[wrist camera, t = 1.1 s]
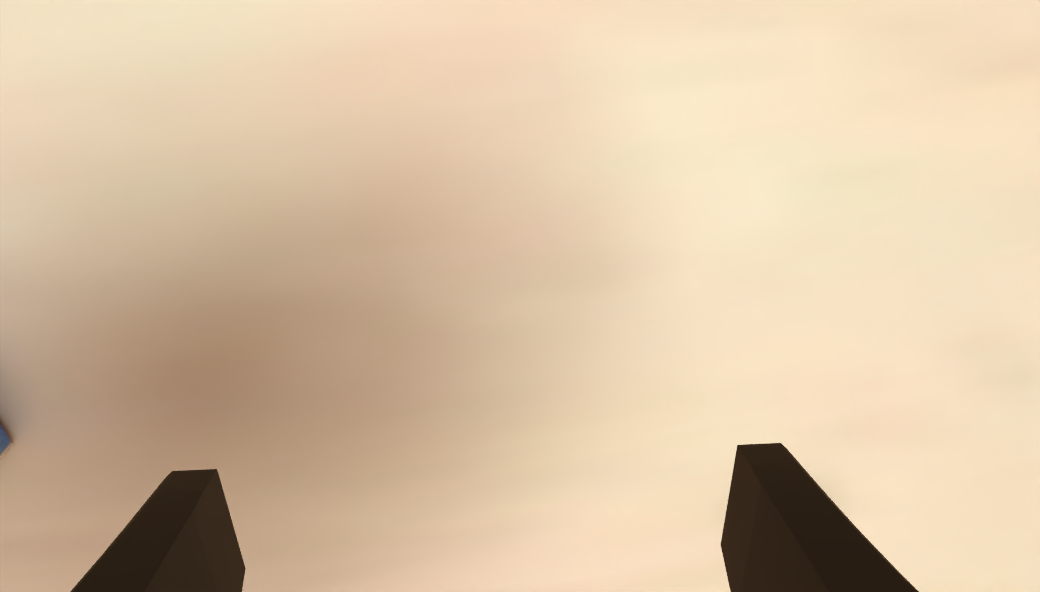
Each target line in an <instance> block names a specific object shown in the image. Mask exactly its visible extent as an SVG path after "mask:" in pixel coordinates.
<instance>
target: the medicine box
mask: <svg viewBox="0 0 1040 592" xmlns="http://www.w3.org/2000/svg"><path fill="white" fill-rule="evenodd" d="M10 446H11V441H10V439H9V437H8V436H7V434H6V433H5V431H4V430H3V428H2V426H1V425H0V459H1V458H2V456H3V455H4V454H5V453H6V452H7V451H8V450H9V448H10Z"/></svg>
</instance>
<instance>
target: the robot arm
mask: <svg viewBox="0 0 1040 592" xmlns="http://www.w3.org/2000/svg"><path fill="white" fill-rule="evenodd" d="M721 548H722V553H723V557H724V562H725V567H726V572H727V576H728V581H729V586H730V590H731V592H918V591H917V590H916V589H915V588H914V587H913V586H912V585H911V584H910V583H909V582H908V581H907V580H906V579H905V578H904V577H903V576H902V575H901V574H900V573H899V572H898V571H897V570H896V569H895V568H894V566H893V565H892V564H891V563H890V562H889V561H888V560H887V559H886V558H885V557H884V556H883V555H882V554H881V553H880V552H879V551H878V550H877V549H876V548H875V547H874V546H873V545H872V544H871V543H870V541H869V540H868V539H867V538H866V537H865V536H864V535H863V534H862V533H861V532H860V531H859V530H858V529H857V528H856V527H855V526H854V524H853V523H852V522H851V521H850V520H849V519H848V518H847V517H846V516H845V515H844V513H843V512H842V511H841V510H840V509H839V508H838V507H837V506H836V505H835V503H834V502H833V501H832V500H831V499H830V498H829V497H828V496H827V494H826V493H825V492H824V491H823V490H822V489H821V488H820V486H819V485H818V484H817V483H816V482H815V481H814V480H813V478H812V477H811V476H810V475H809V474H808V473H807V472H806V470H805V469H804V468H803V467H802V466H801V465H800V463H799V462H798V461H797V460H796V459H795V458H794V457H793V455H792V454H791V453H790V452H789V451H788V450H787V449H786V448H785V447H784V446H783V445H782V444H781V443H772V444H750V445H737V451H736V457H735V463H734V469H733V475H732V481H731V487H730V493H729V499H728V505H727V511H726V517H725V523H724V529H723V535H722V541H721ZM244 574H245V566H244V562H243V559H242V555H241V552H240V548H239V545H238V541H237V538H236V534H235V531H234V527H233V524H232V520H231V517H230V513H229V510H228V506H227V503H226V499H225V496H224V492H223V489H222V485H221V482H220V478H219V475H218V471H217V469H210V470H188V471H172V472H171V473H170V474H169V475H168V476H167V477H166V478H165V479H164V480H163V482H162V483H161V484H160V485H159V486H158V488H157V489H156V490H155V491H154V492H153V494H152V495H151V496H150V497H149V499H148V500H147V501H146V502H145V504H144V505H143V506H142V507H141V508H140V510H139V511H138V512H137V513H136V515H135V516H134V517H133V518H132V520H131V521H130V522H129V523H128V524H127V526H126V527H125V528H124V529H123V531H122V532H121V533H120V534H119V535H118V537H117V538H116V539H115V540H114V541H113V543H112V544H111V545H110V546H109V547H108V549H107V550H106V551H105V552H104V553H103V555H102V556H101V557H100V558H99V559H98V560H97V562H96V563H95V564H94V565H93V566H92V567H91V569H90V570H89V571H88V572H87V573H86V574H85V575H84V577H83V578H82V579H81V580H80V581H79V582H78V584H77V585H76V586H75V587H74V588H73V589H72V590H71V592H242V587H243V580H244Z"/></svg>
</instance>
